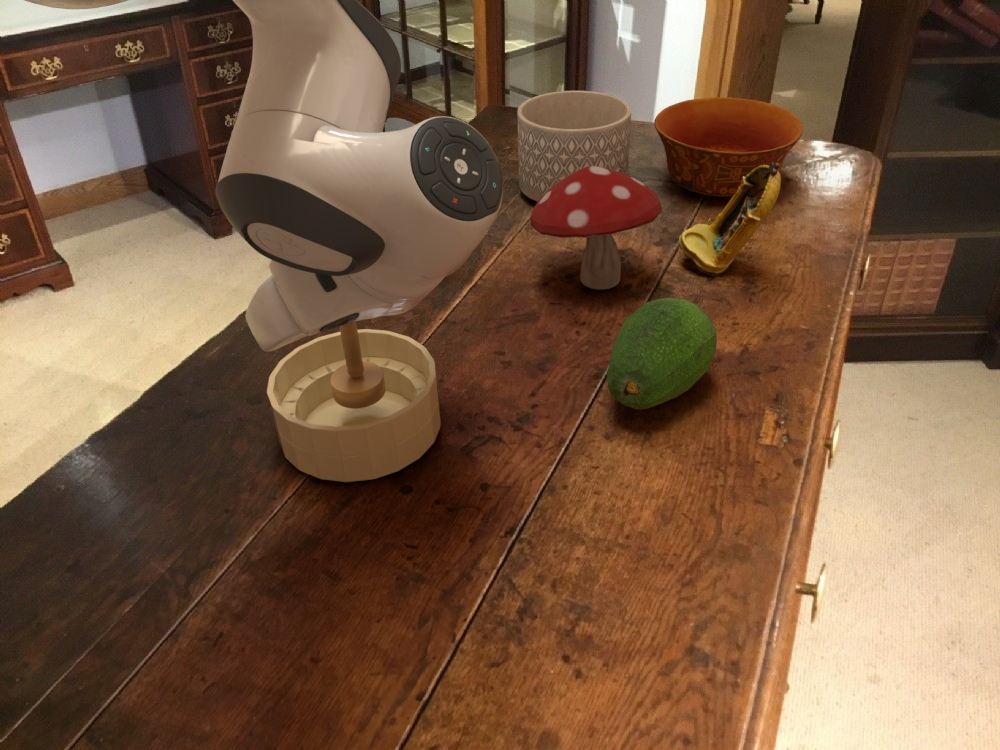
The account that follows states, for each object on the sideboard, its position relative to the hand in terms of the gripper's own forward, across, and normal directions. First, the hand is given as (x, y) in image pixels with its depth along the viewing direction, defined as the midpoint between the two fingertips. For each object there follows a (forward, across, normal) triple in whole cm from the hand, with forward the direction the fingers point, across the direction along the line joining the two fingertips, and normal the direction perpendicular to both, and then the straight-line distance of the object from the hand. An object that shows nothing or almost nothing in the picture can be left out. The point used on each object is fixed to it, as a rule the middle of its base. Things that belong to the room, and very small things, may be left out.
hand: (342, 310), depth 80 cm
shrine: (+7, -52, +12) cm, 54 cm away
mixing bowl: (+9, +1, +10) cm, 14 cm away
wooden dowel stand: (+6, 0, +7) cm, 9 cm away
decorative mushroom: (+13, -37, +6) cm, 40 cm away
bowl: (+19, -72, +1) cm, 74 cm away
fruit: (-2, -26, +21) cm, 34 cm away
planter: (+28, -54, -8) cm, 61 cm away
